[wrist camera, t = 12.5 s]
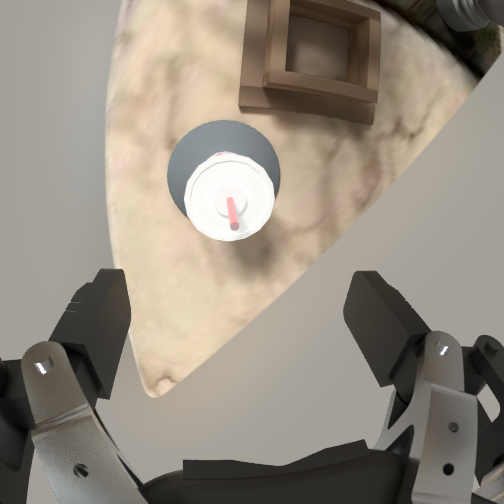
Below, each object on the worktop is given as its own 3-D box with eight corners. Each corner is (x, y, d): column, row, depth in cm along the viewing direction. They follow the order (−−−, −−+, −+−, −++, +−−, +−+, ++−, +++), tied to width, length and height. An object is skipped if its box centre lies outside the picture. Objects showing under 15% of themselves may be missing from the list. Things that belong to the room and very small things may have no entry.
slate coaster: (169, 119, 24) (168, 119, 24) (283, 124, 26) (284, 124, 25) (169, 226, 29) (168, 228, 29) (272, 228, 31) (274, 230, 30)
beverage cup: (207, 213, 28) (203, 293, 16) (183, 157, 26) (154, 194, 13) (264, 192, 28) (306, 255, 16) (244, 134, 25) (273, 148, 13)
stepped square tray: (249, -15, 18) (255, -34, 14) (375, 14, 20) (396, 4, 16) (238, 105, 24) (242, 103, 20) (369, 124, 26) (392, 127, 22)
